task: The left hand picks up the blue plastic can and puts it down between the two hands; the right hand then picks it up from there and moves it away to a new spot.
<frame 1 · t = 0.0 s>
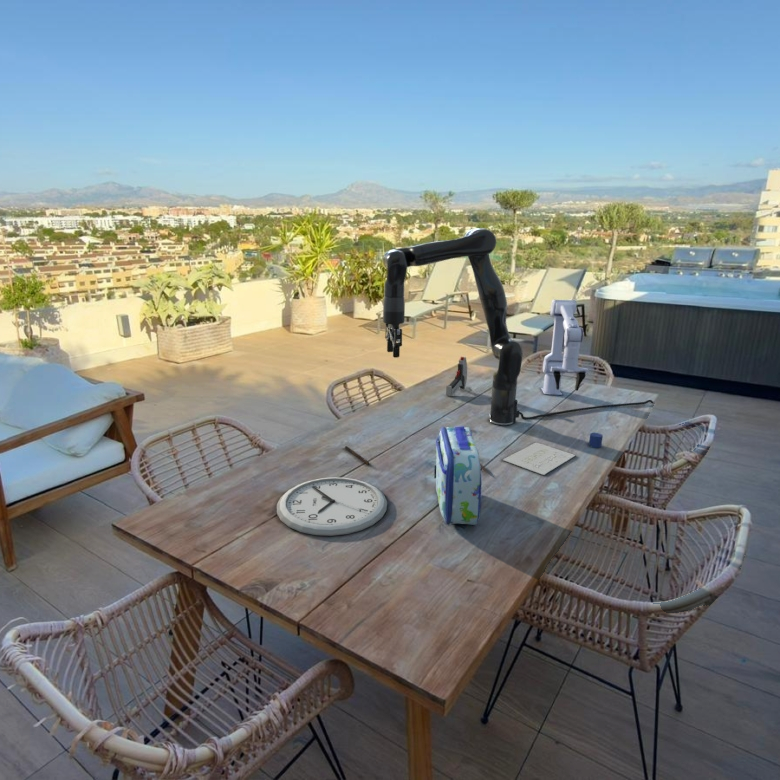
left hand: (393, 354, 187), 29 cm above the table, tool pointing down, fingers open, 8 cm apart
right hand: (566, 389, 216), 10 cm above the table, tool pointing down, fingers open, 7 cm apart
can: (594, 445, 186), on the table
fork: (476, 464, 169), on the table
invitation card: (539, 458, 174), on the table
lunch box: (455, 506, 143), on the table
wall clock: (332, 505, 143), on the table
thin brown stick: (356, 456, 173), on the table
toy gun: (456, 392, 242), on the table
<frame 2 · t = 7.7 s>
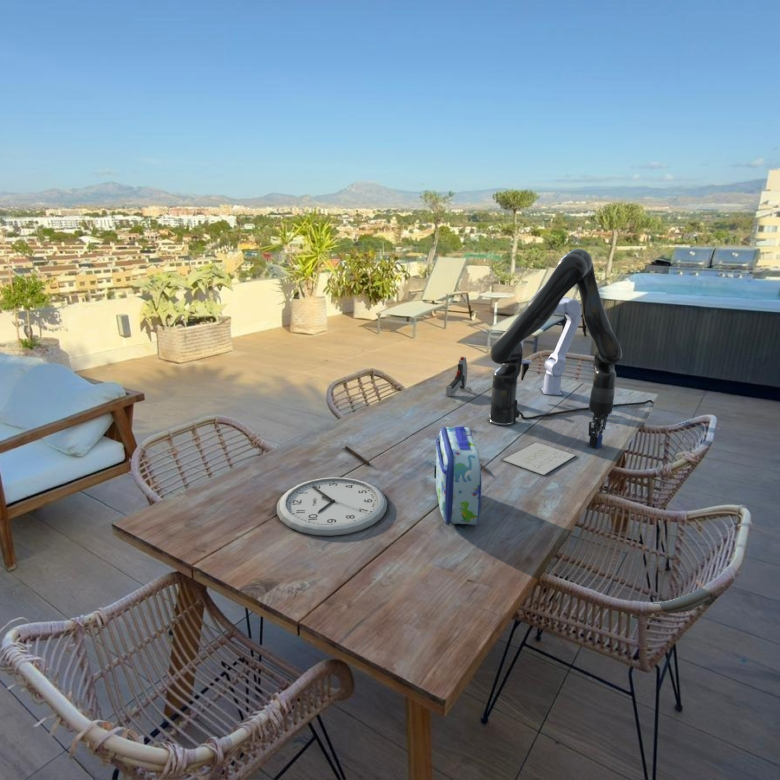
left hand: (595, 444, 185), 0 cm above the table, tool pointing down, fingers closed on can, 4 cm apart
right hand: (513, 379, 241), 7 cm above the table, tool pointing down, fingers open, 7 cm apart
can: (594, 445, 186), on the table, touching left hand
everything else where it was.
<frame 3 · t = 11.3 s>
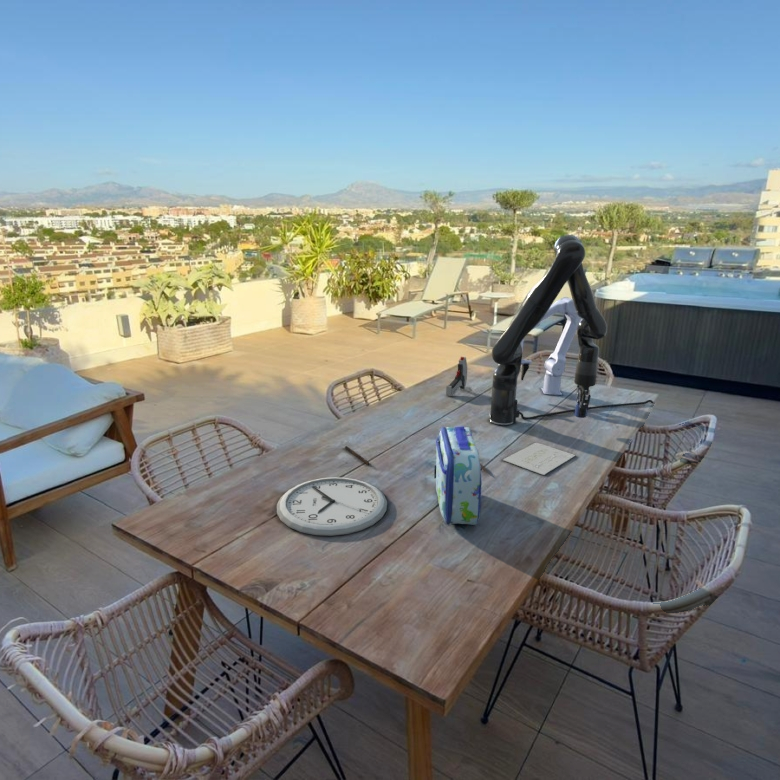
left hand: (580, 414, 200), 5 cm above the table, tool pointing down, fingers closed on can, 4 cm apart
right hand: (513, 379, 241), 7 cm above the table, tool pointing down, fingers open, 7 cm apart
can: (580, 416, 201), point 5 cm above the table, touching left hand
everything else where it was.
when the left hand's fingers open (2 cm above the table, at t = 15.4 s): can drops 1 cm, on the table.
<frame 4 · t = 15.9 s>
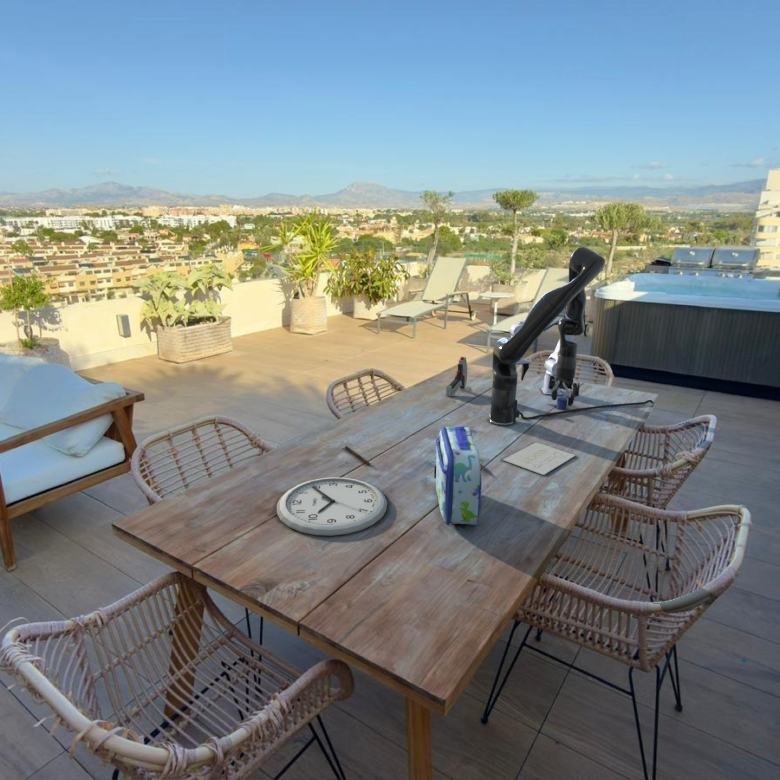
left hand: (561, 402, 223), 2 cm above the table, tool pointing down, fingers open, 8 cm apart
right hand: (513, 379, 241), 7 cm above the table, tool pointing down, fingers open, 7 cm apart
can: (561, 407, 224), on the table
everything else where it was.
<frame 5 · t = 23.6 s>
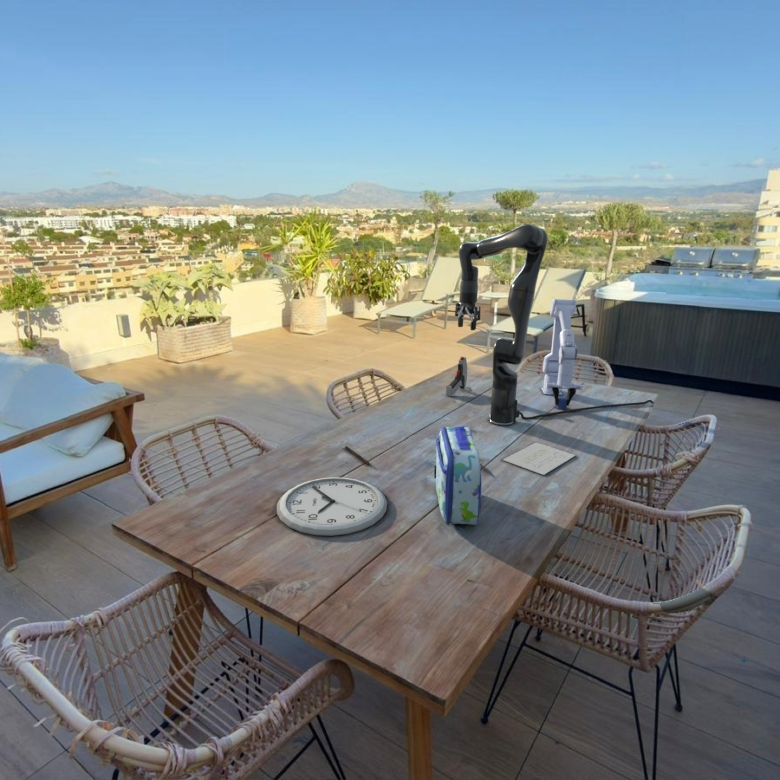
left hand: (466, 328, 228), 31 cm above the table, tool pointing down, fingers open, 8 cm apart
right hand: (561, 404, 224), 1 cm above the table, tool pointing down, fingers closed on can, 4 cm apart
can: (561, 407, 224), on the table, touching right hand
everything else where it was.
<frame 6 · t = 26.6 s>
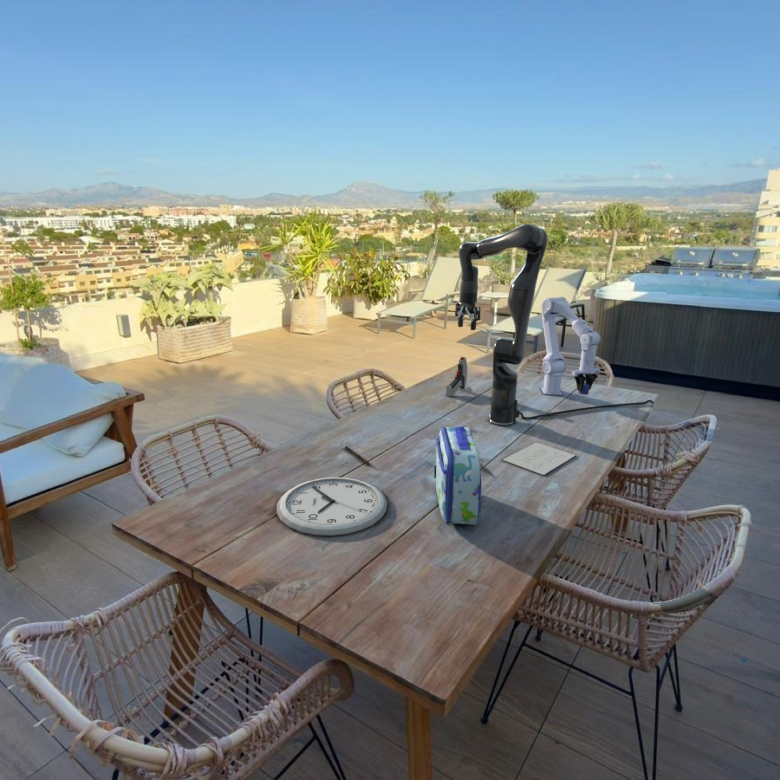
left hand: (466, 328, 228), 31 cm above the table, tool pointing down, fingers open, 8 cm apart
right hand: (583, 390, 228), 6 cm above the table, tool pointing down, fingers closed on can, 4 cm apart
can: (583, 393, 228), point 5 cm above the table, touching right hand
everything else where it was.
when the right hand's fingers open (2 cm above the table, at t = 30.0 s): can drops 1 cm, on the table.
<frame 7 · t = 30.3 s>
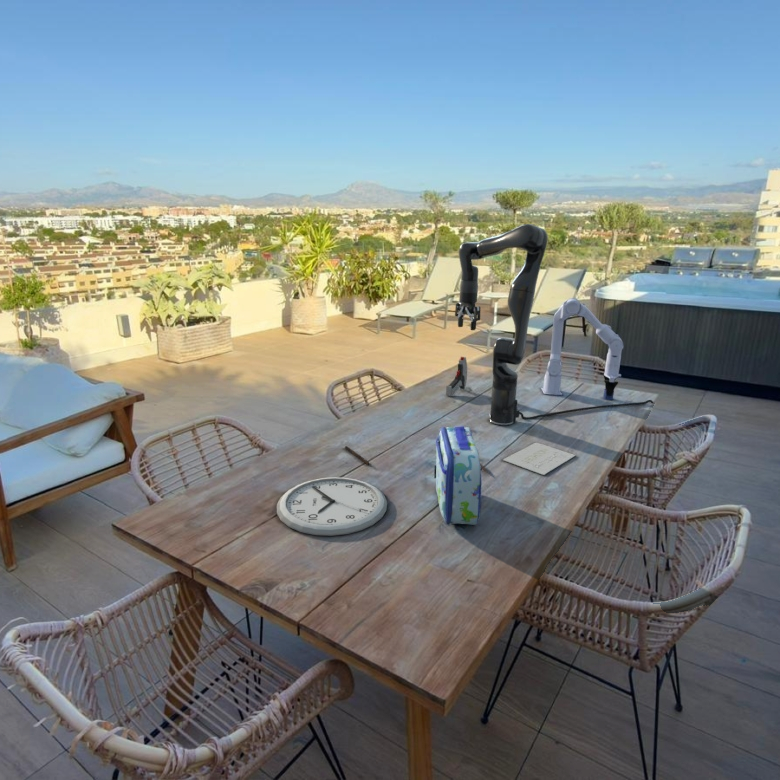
left hand: (466, 328, 228), 31 cm above the table, tool pointing down, fingers open, 8 cm apart
right hand: (608, 393, 237), 3 cm above the table, tool pointing down, fingers open, 7 cm apart
can: (607, 398, 238), on the table
everything else where it was.
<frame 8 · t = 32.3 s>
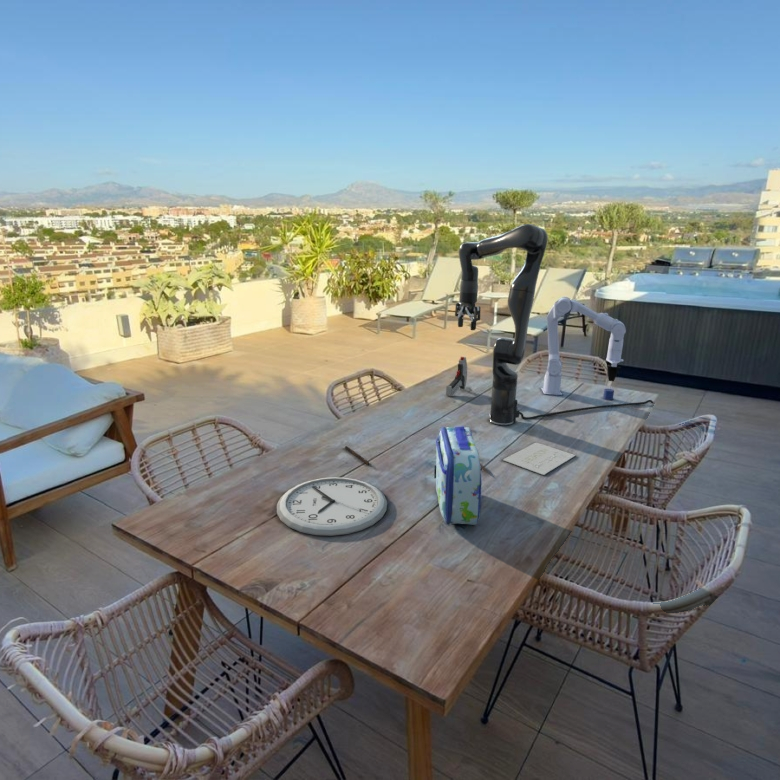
left hand: (466, 328, 228), 31 cm above the table, tool pointing down, fingers open, 8 cm apart
right hand: (610, 378, 235), 9 cm above the table, tool pointing down, fingers open, 7 cm apart
nothing on the table moved.
at the end: can inside the target area (0.1 cm from its centre), on the table; can tilted 0°; the two hands never held the can at the same time; the left hand is holding nothing; the right hand is holding nothing; can at rest at the end (0.0 cm/s) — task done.
